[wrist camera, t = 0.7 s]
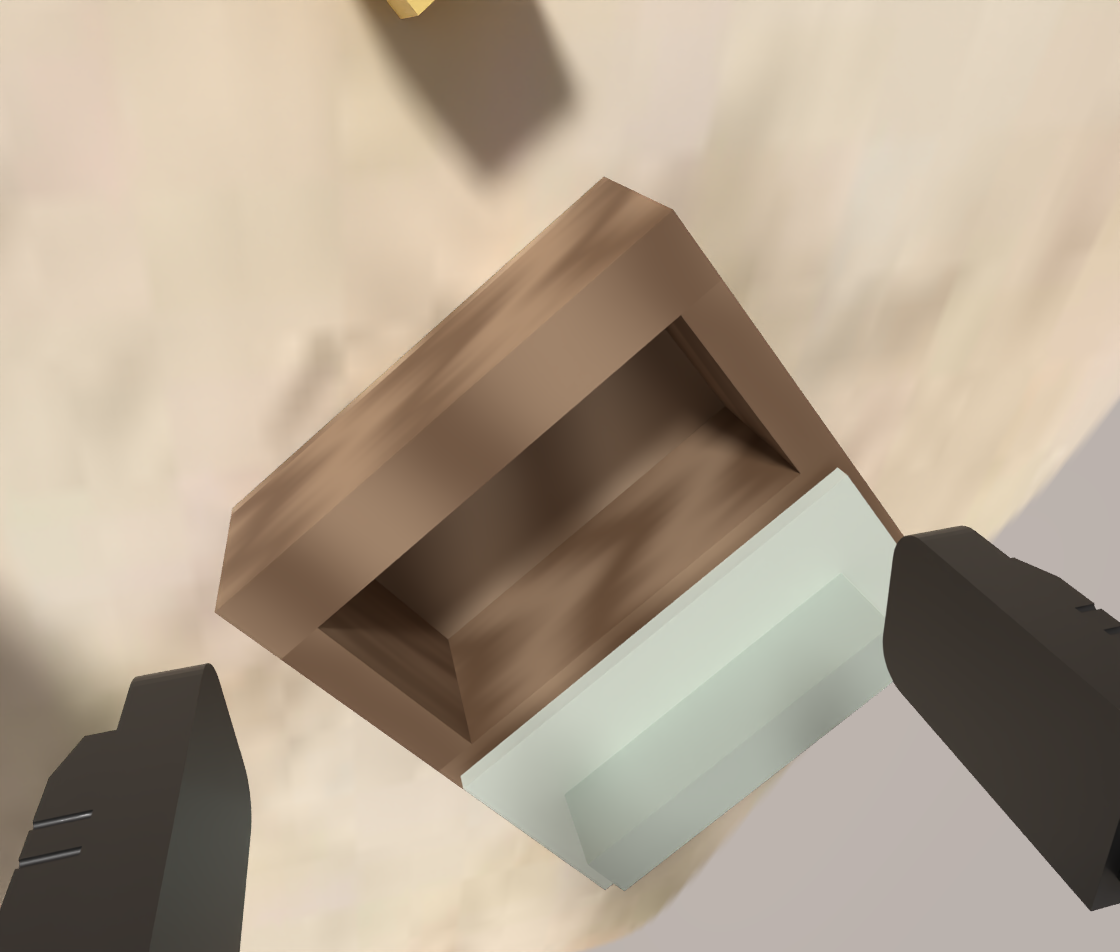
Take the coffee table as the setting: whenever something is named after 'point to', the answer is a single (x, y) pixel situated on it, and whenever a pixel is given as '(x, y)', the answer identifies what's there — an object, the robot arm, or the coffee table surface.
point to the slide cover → (705, 695)
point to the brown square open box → (527, 485)
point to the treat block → (409, 7)
